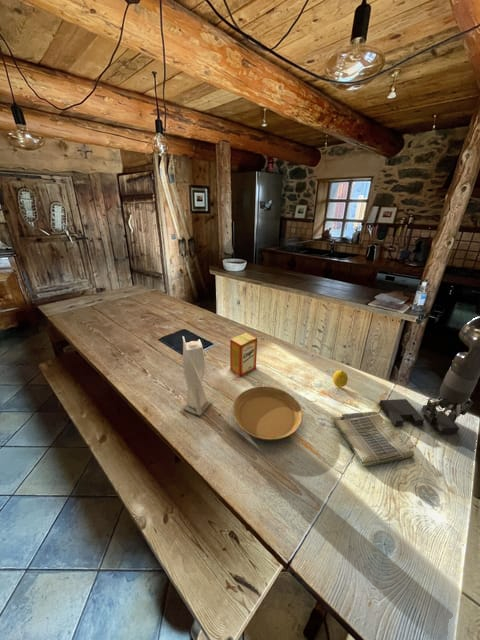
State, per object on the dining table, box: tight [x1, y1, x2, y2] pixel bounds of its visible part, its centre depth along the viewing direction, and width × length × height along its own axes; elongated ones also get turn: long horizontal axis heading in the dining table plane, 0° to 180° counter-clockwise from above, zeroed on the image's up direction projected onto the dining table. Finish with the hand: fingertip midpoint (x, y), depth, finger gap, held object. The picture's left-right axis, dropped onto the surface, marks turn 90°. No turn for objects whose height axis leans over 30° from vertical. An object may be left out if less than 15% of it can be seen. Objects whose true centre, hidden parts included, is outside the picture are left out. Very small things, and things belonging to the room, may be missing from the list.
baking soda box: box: [229, 332, 258, 378], centre depth 115 cm, size 10×6×16 cm
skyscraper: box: [182, 336, 212, 417], centre depth 92 cm, size 8×8×28 cm
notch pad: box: [378, 398, 425, 427], centre depth 95 cm, size 10×10×2 cm
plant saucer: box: [232, 385, 303, 441], centre depth 93 cm, size 24×24×3 cm
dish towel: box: [333, 410, 415, 467], centre depth 85 cm, size 19×18×3 cm
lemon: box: [332, 369, 349, 388], centre depth 107 cm, size 6×6×8 cm
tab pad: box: [421, 404, 460, 435], centre depth 92 cm, size 6×10×2 cm, turn 4°
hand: (440, 422), depth 91 cm, fingers closed on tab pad, 6 cm apart
